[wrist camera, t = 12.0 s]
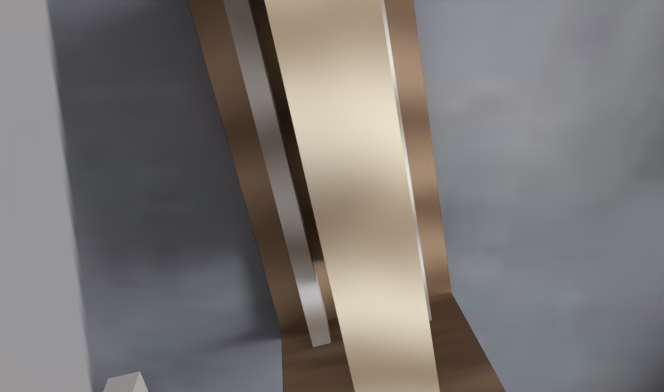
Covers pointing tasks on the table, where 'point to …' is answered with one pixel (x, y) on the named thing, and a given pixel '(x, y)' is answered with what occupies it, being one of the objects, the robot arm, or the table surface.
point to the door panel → (357, 185)
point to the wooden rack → (295, 205)
